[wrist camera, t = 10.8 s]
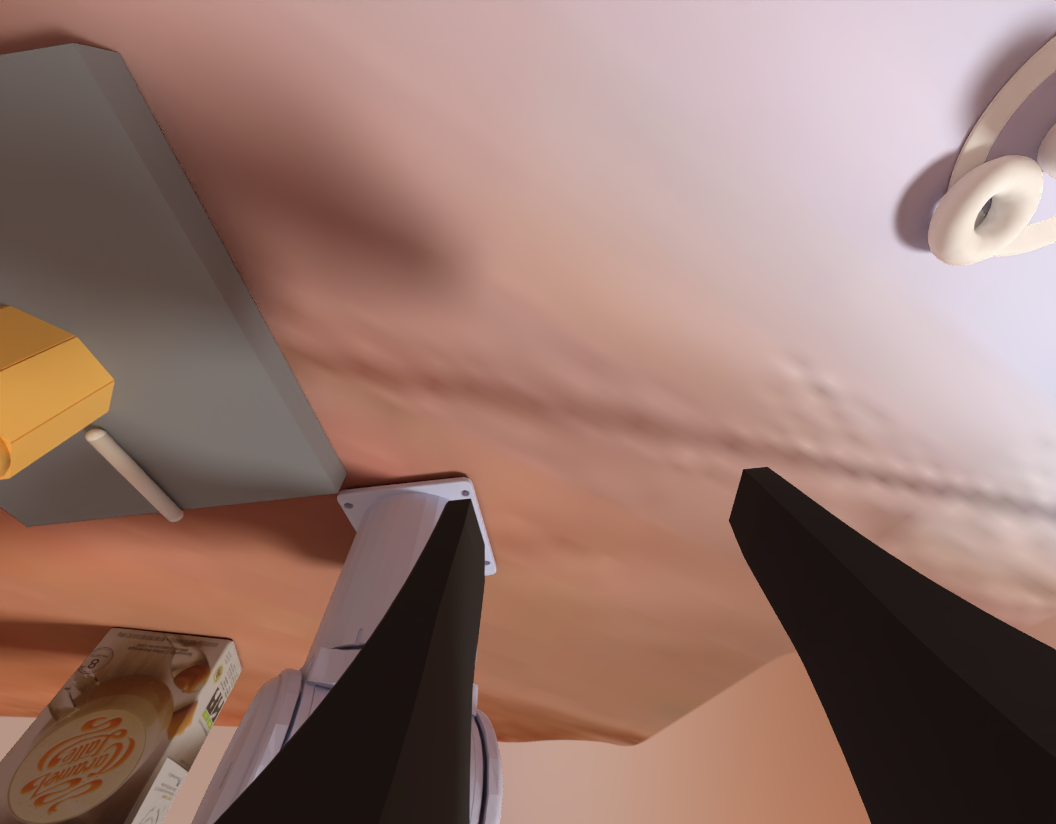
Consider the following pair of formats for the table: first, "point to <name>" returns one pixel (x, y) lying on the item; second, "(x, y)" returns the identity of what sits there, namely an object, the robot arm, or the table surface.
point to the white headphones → (997, 182)
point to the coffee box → (119, 731)
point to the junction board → (139, 309)
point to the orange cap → (44, 388)
